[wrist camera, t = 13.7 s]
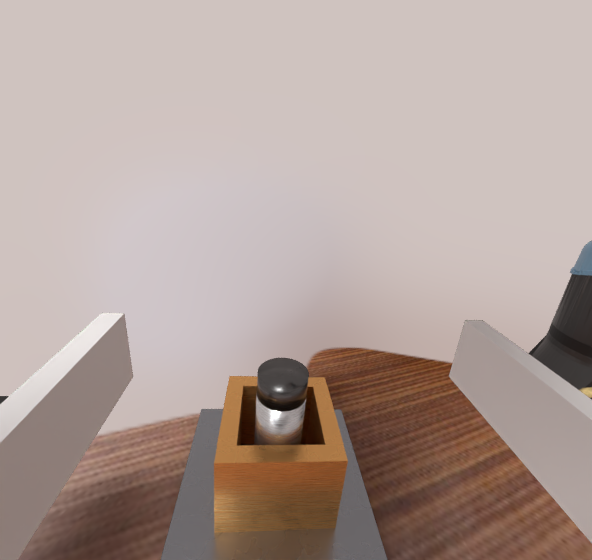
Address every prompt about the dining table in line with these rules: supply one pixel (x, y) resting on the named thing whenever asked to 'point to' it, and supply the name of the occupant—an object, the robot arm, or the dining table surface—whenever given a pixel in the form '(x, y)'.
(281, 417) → the capped glass tube
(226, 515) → the yellow open box
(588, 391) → the wall sconce
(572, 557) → the dining table surface
